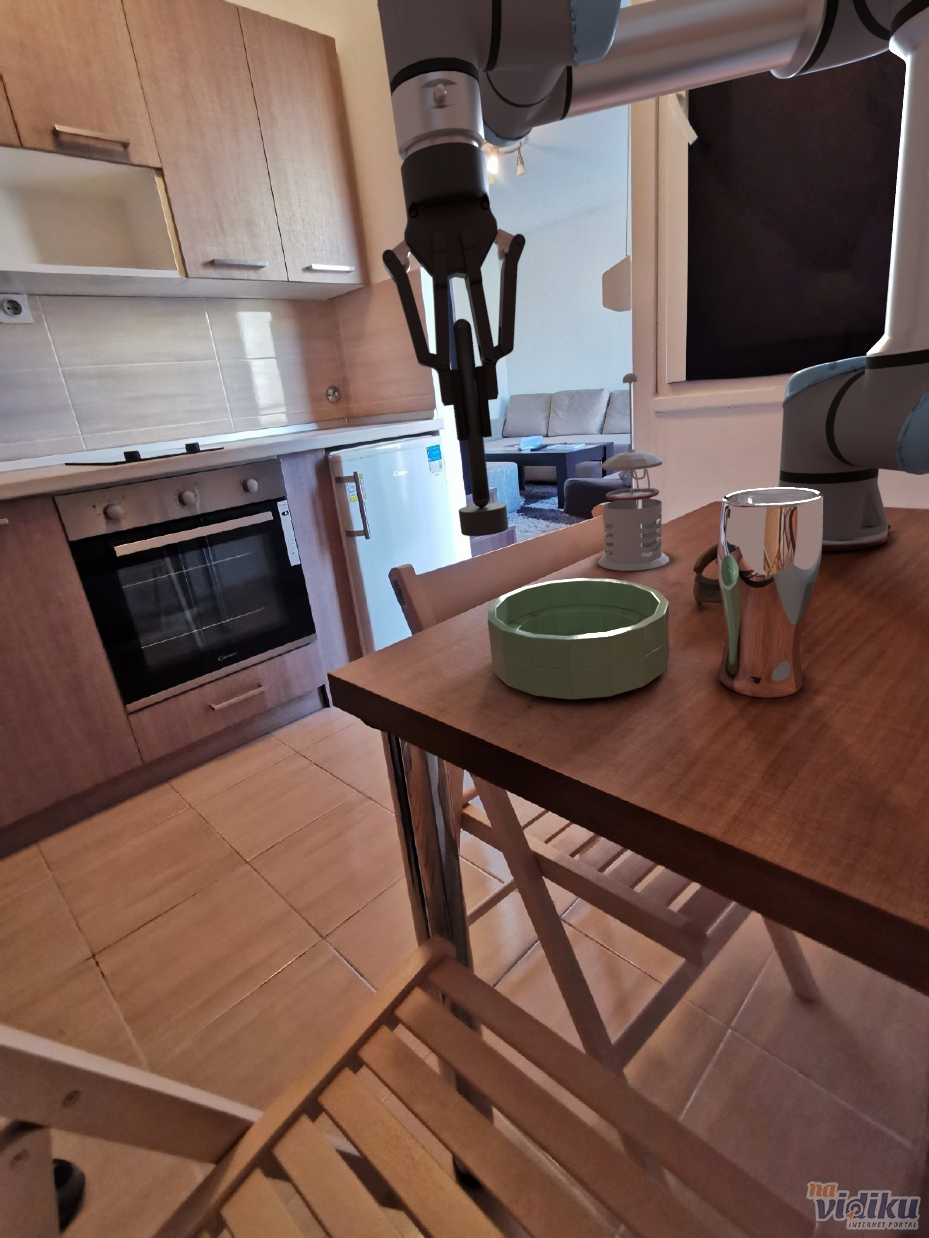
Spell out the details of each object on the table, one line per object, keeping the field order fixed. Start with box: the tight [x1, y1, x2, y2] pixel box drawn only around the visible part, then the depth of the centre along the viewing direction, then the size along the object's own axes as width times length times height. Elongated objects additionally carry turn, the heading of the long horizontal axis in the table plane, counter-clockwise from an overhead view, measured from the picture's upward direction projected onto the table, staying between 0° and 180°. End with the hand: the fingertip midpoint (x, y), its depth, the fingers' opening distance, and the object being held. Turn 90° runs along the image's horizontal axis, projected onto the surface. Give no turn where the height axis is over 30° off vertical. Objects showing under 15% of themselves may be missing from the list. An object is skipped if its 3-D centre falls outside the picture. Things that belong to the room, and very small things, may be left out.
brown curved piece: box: [692, 542, 722, 609], centre depth 64 cm, size 12×10×8 cm
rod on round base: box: [452, 318, 509, 537], centre depth 59 cm, size 5×5×20 cm
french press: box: [597, 372, 670, 572], centre depth 81 cm, size 10×12×25 cm
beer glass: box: [716, 487, 824, 699], centre depth 45 cm, size 7×7×15 cm
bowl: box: [487, 577, 670, 700], centre depth 53 cm, size 16×16×6 cm
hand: (474, 437), depth 59 cm, fingers closed on rod on round base, 2 cm apart
